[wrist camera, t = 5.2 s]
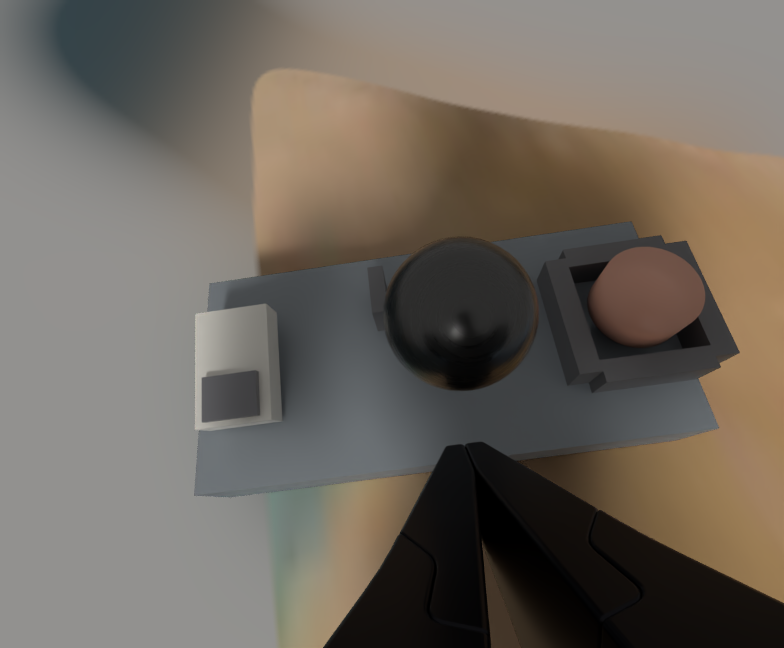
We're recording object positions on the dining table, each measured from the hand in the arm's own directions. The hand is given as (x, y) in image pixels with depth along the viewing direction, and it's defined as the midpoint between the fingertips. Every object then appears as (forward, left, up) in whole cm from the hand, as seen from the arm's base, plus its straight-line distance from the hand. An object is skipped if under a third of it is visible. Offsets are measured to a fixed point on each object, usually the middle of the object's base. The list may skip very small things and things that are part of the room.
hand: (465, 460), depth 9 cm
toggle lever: (+5, +4, -6) cm, 9 cm away
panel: (+4, +3, -9) cm, 11 cm away
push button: (+9, -3, -5) cm, 10 cm away
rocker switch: (-1, +9, -6) cm, 11 cm away
